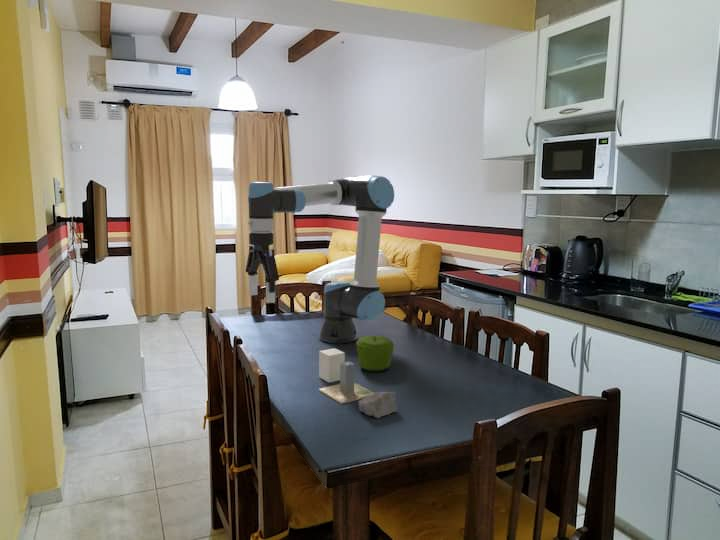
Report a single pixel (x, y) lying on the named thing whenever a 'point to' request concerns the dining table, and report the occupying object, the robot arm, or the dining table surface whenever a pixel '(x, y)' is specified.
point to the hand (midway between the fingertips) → (261, 298)
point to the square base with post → (346, 386)
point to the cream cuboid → (330, 364)
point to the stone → (379, 404)
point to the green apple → (374, 352)
